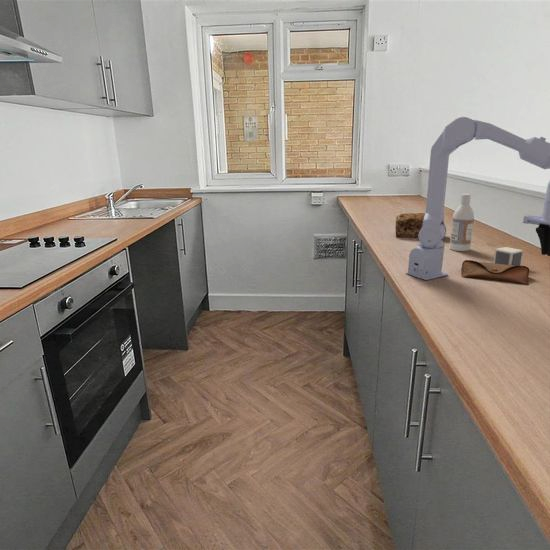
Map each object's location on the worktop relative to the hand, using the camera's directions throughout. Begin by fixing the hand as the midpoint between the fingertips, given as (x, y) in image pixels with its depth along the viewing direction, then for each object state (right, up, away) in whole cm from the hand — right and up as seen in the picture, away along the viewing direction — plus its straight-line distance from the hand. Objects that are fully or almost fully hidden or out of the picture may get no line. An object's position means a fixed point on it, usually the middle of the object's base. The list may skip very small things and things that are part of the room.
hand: (547, 254), depth 106 cm
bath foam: (-3, +4, +44) cm, 44 cm away
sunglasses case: (-7, -6, +13) cm, 16 cm away
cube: (+2, -3, +23) cm, 23 cm away
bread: (-10, +11, +66) cm, 68 cm away
